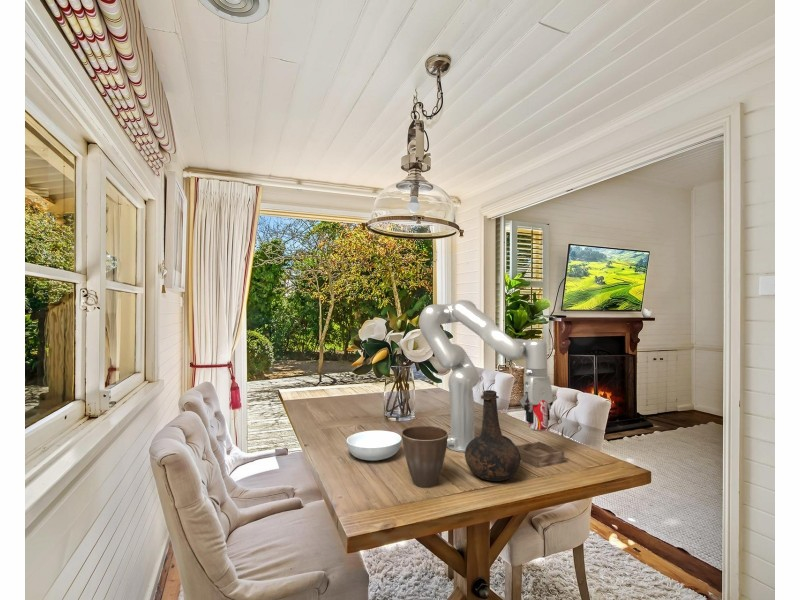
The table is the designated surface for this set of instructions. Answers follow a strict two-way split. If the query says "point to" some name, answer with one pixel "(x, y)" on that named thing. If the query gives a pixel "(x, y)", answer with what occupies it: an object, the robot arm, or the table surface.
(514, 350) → the robot arm
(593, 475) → the table surface
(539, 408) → the soda can
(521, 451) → the open storage box
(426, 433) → the plant pot
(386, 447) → the serving bowl
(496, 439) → the glass bottle
